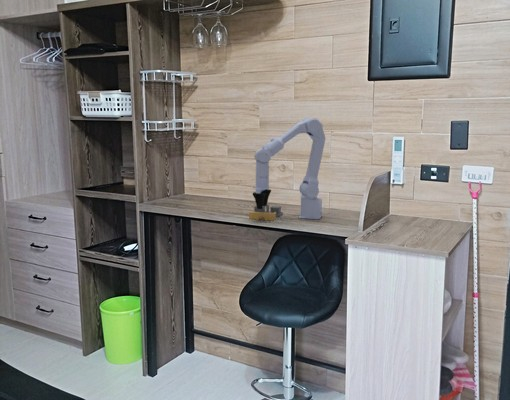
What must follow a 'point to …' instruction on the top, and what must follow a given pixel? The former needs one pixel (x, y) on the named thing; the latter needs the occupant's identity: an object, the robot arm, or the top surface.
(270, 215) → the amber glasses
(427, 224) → the top surface
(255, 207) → the display stand
